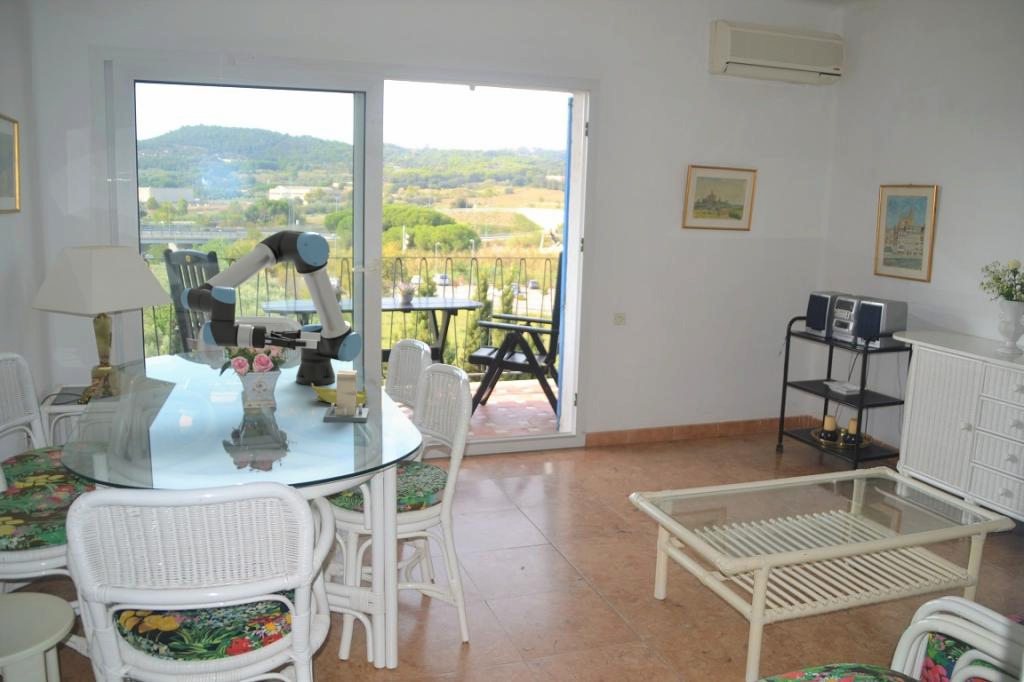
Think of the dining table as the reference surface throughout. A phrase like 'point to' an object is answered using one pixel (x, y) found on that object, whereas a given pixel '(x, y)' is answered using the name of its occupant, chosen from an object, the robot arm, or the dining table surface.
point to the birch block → (346, 391)
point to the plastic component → (331, 395)
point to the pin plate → (358, 417)
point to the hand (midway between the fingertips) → (318, 340)
